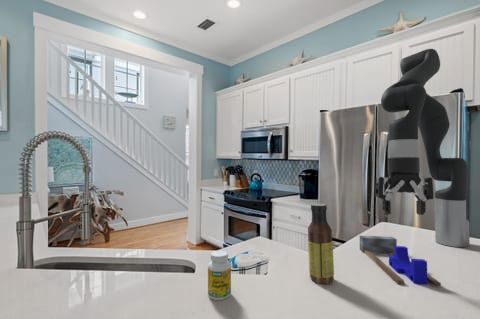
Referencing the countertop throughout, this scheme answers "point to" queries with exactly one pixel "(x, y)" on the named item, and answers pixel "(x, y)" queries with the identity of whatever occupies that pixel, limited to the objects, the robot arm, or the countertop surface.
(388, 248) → the guide channel
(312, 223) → the sauce bottle
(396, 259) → the cable clip
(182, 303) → the countertop surface
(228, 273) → the supplement bottle
